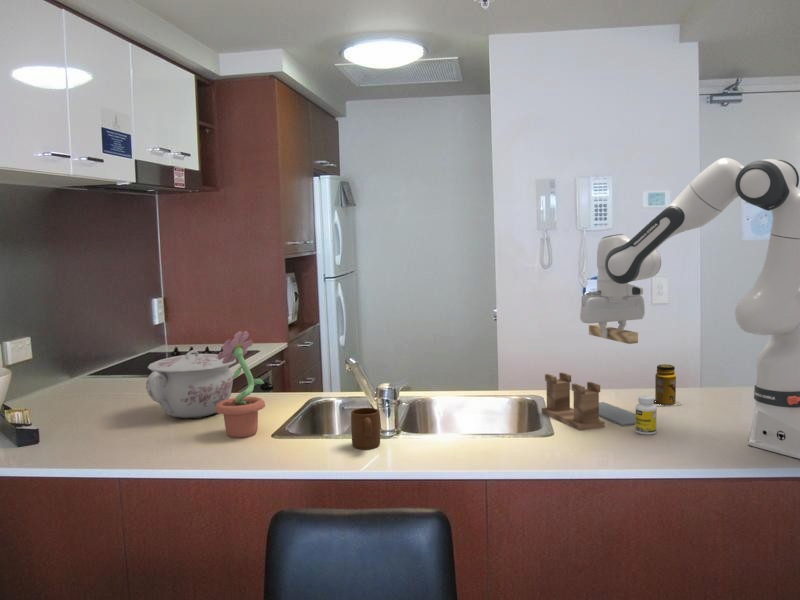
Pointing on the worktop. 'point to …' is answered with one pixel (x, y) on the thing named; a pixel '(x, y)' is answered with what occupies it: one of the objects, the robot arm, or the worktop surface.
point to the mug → (365, 428)
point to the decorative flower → (240, 409)
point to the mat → (616, 414)
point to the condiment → (665, 386)
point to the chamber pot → (190, 384)
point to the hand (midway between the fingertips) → (612, 336)
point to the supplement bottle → (646, 415)
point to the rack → (584, 402)
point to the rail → (615, 334)
